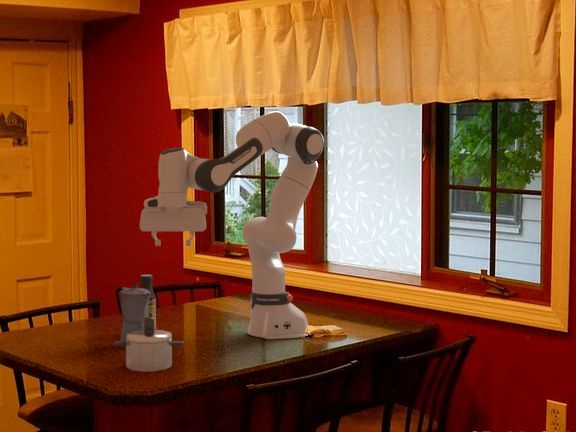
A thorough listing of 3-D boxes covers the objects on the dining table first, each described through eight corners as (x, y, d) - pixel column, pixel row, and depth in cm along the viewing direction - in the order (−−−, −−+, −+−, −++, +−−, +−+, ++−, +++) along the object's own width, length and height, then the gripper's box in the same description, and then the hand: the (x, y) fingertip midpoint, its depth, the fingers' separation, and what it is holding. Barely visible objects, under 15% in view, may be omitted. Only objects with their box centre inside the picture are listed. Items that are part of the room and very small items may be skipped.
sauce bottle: (152, 336, 313) (151, 277, 311) (134, 335, 314) (133, 276, 312) (158, 332, 319) (158, 274, 317) (141, 331, 320) (140, 273, 318)
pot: (184, 359, 283) (184, 333, 282) (182, 371, 270) (181, 343, 269) (117, 360, 282) (117, 333, 281) (111, 371, 269) (111, 344, 268)
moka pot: (141, 350, 294) (140, 286, 292) (104, 343, 303) (103, 282, 300) (160, 343, 302) (160, 282, 300) (124, 337, 311) (123, 277, 309)
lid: (173, 333, 282) (173, 313, 281) (169, 343, 269) (169, 322, 268) (129, 333, 281) (129, 313, 281) (123, 344, 269) (123, 322, 268)
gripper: (207, 200, 292) (207, 244, 293) (141, 200, 291) (141, 244, 292) (206, 202, 286) (206, 247, 287) (138, 201, 285) (139, 247, 286)
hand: (173, 245), depth 290 cm, fingers open, 8 cm apart
